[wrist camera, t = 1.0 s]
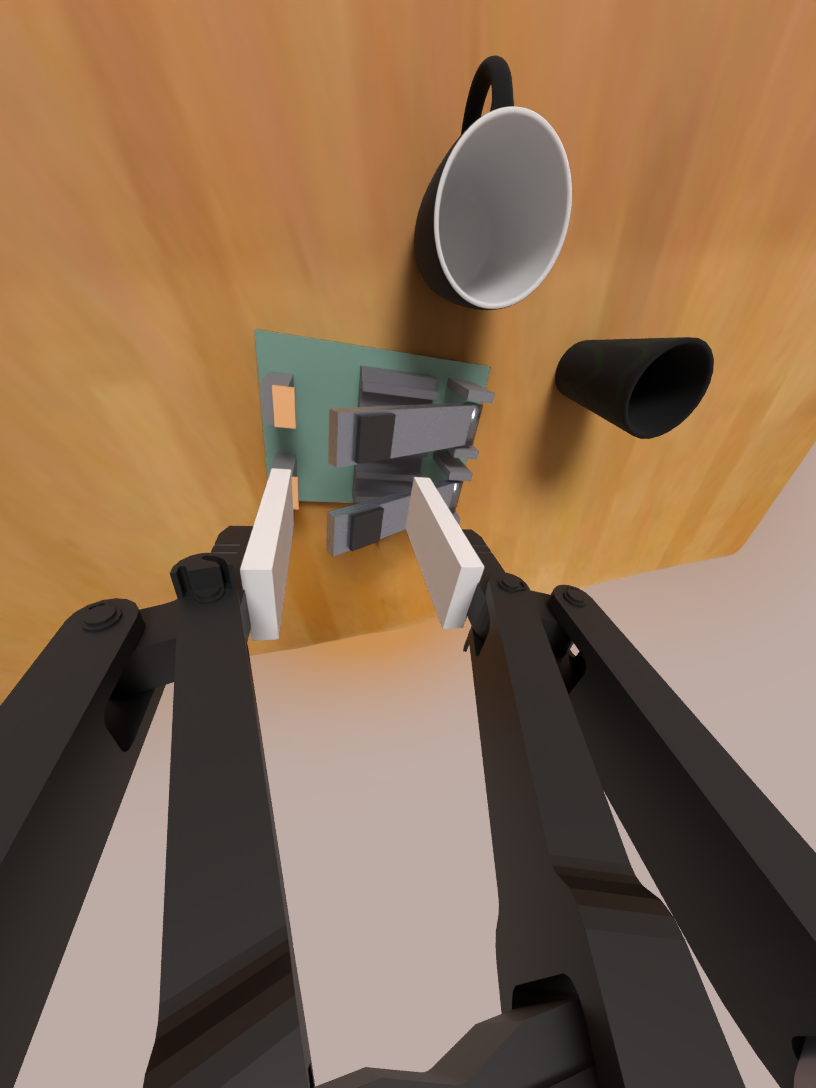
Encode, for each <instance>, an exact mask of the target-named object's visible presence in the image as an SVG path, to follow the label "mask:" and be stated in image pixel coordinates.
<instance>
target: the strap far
mask: <svg viewBox="0 0 816 1088" xmlns="http://www.w3.org/2000/svg"><path fill="white" fill-rule="evenodd" d="M433 484H434V486H435V487H436V489H437V491H438V492H439V494H440V495H441V497H442V499H443V500H444V502H445V504H446V505H447V507H448V508H449V510H450V512H451V513H452V514H454V513H455V511H456V507H457V503H458V499H459V495H460V492H461V488H462V484H463V481H461V480H448V479H447V480H443V481H439V482H436V483H433ZM411 491H412V489H410V490H406V491H403V492H399V493H395V494H392V495H388V496H384V497H380V498H377V499H373V500H369V501H366V502H362V503H358V504H355V505H351V506H347V507H344V508H340V509H336V510H333V511H329V512H327V551H328V552H329V553H330V554H331V555H332V556H333V557H334V556H336V555H339V554H342V553H344V552H347V551H350V550H351V551H354V550H357V549H359V548H362V547H365V546H367V545H370V544H372V543H375V542H378V541H380V539H382V538H384V537H387V536H390V535H392V534H395V533H398V532H400V531H403V530H406V528H405V526H406V520H407V515H408V509H409V503H410V497H411Z"/></svg>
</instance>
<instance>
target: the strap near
mask: <svg viewBox="0 0 816 1088" xmlns="http://www.w3.org/2000/svg"><path fill="white" fill-rule="evenodd" d="M482 408H483V405H482V404H480V403H476V402H469V401H467V402H466V403H443V404H420V405H397V406H374V407H351V408H329V449H328V463H329V464H331V465H332V466H334V467H336V468H340V467H345V466H351V465H356V464H362V463H368V462H373V461H379V460H385V459H390V458H396V457H401V456H407V455H413V454H418V453H424V452H429V451H435V450H441V449H446V448H452V447H457V446H463V445H467V446H471V445H473V442H474V438H475V434H476V431H477V427H478V423H479V419H480V415H481V412H482Z"/></svg>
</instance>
